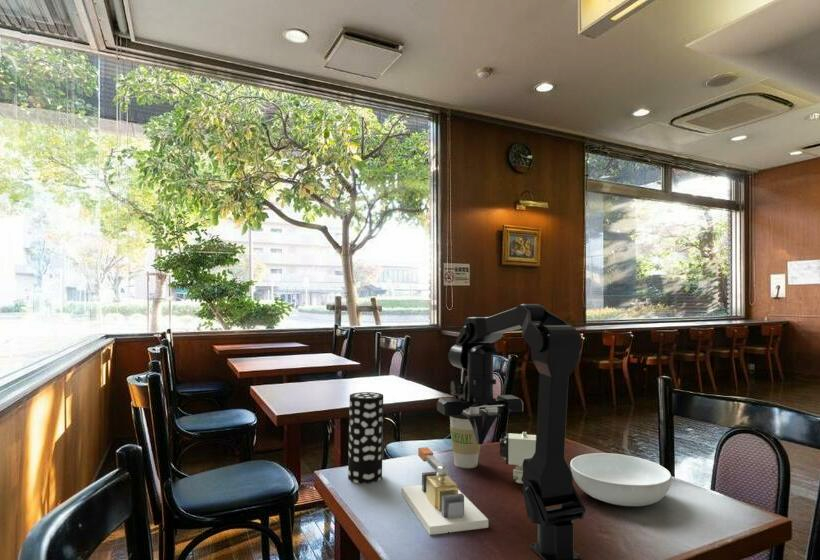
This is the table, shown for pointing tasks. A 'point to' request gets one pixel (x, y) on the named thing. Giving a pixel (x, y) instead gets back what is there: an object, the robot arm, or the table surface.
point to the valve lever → (433, 462)
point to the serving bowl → (620, 478)
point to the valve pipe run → (443, 495)
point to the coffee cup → (464, 442)
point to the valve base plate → (433, 516)
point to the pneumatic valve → (517, 451)
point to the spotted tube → (365, 437)
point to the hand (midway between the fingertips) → (479, 444)
